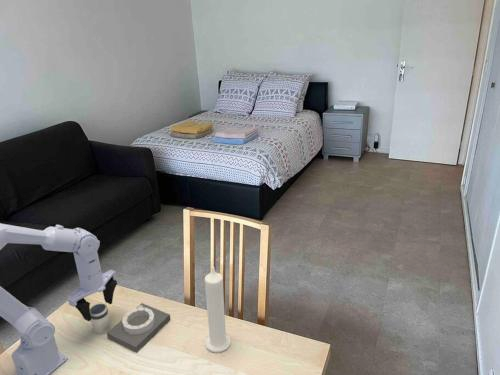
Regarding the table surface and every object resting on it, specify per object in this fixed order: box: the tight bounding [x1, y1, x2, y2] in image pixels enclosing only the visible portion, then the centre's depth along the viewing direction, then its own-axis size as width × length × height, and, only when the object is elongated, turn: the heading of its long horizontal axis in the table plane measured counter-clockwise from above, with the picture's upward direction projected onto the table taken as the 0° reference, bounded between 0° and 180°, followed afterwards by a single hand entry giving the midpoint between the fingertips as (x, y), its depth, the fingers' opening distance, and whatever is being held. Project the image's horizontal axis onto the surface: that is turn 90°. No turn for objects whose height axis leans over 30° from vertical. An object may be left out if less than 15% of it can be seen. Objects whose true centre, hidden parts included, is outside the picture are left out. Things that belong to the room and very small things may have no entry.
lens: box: [90, 303, 112, 335], centre depth 109 cm, size 5×5×7 cm
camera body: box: [106, 302, 171, 353], centre depth 109 cm, size 14×11×4 cm
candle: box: [204, 266, 232, 354], centre depth 100 cm, size 7×7×25 cm
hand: (98, 310), depth 108 cm, fingers open, 7 cm apart
